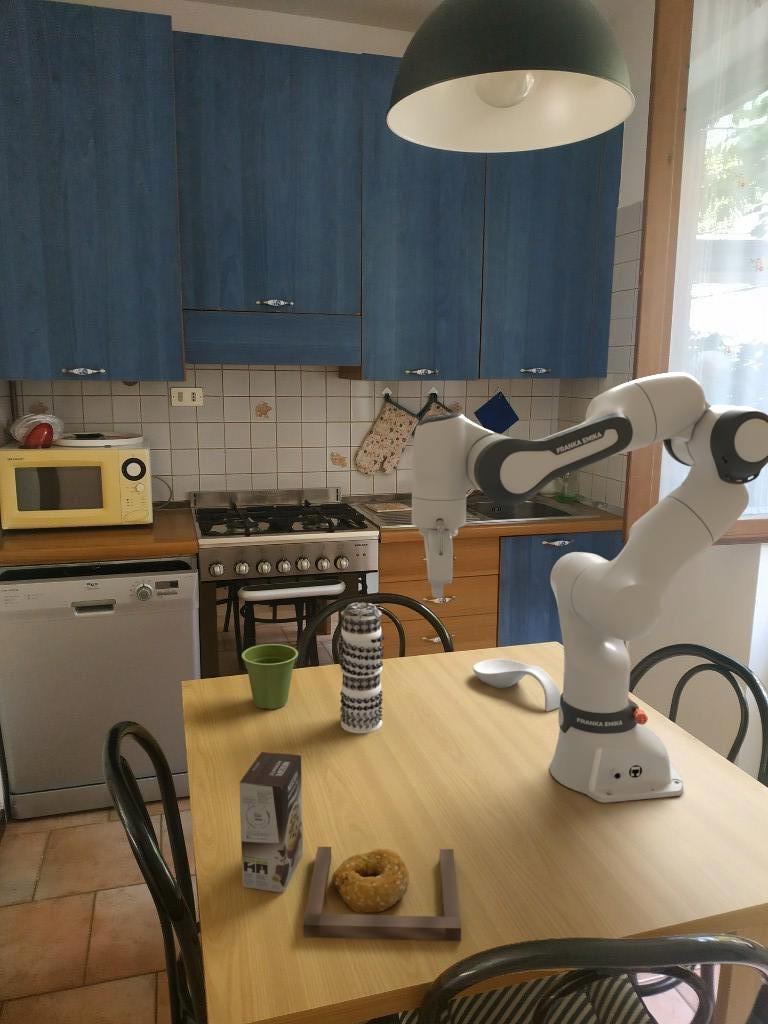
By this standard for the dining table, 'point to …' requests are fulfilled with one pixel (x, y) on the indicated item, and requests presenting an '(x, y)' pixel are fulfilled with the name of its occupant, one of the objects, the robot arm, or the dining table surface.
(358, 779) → the dining table surface
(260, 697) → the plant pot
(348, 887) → the bagel
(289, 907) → the dining table surface
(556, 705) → the spoon rest
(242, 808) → the coffee box
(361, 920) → the brown u-shaped frame
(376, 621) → the decorative candle
